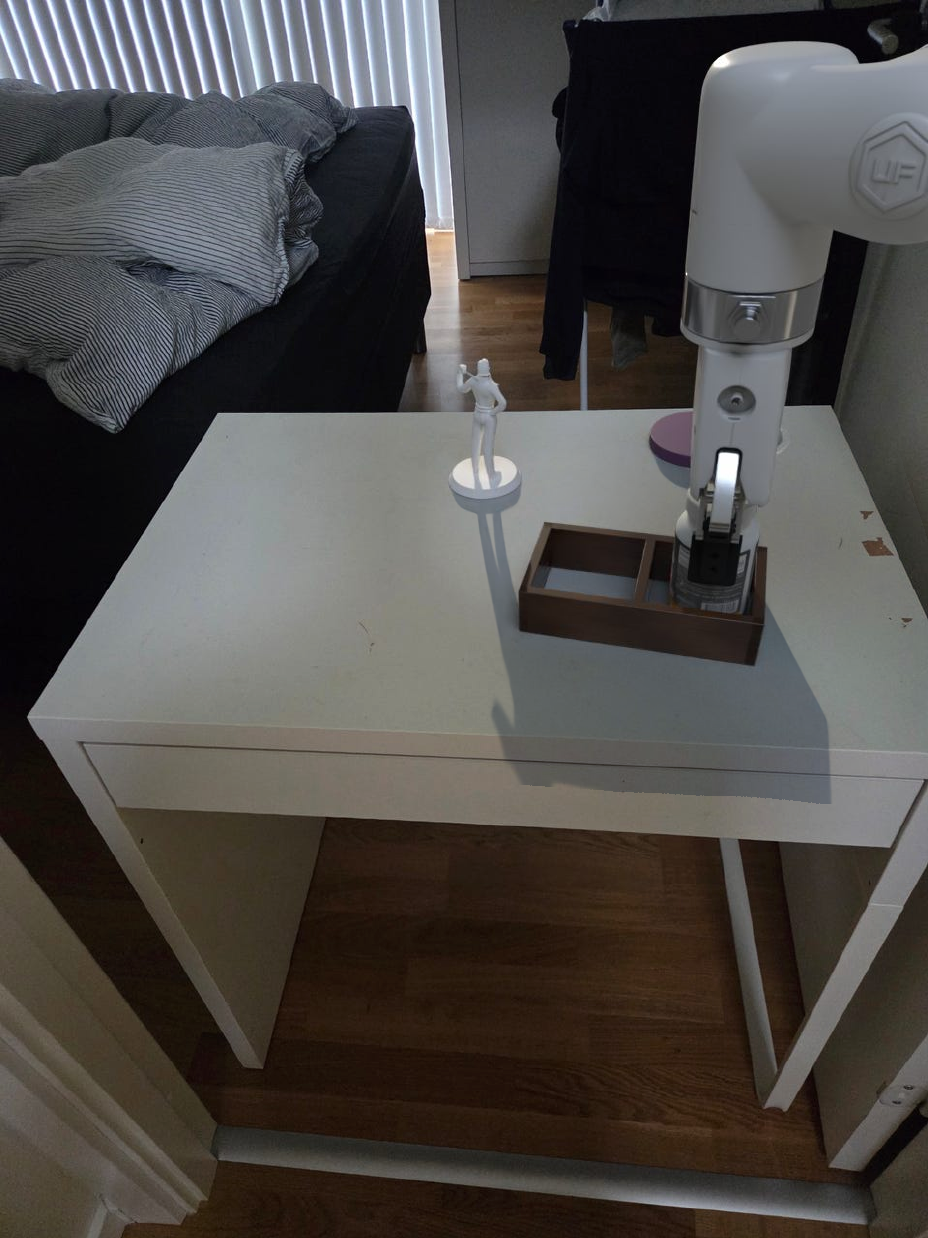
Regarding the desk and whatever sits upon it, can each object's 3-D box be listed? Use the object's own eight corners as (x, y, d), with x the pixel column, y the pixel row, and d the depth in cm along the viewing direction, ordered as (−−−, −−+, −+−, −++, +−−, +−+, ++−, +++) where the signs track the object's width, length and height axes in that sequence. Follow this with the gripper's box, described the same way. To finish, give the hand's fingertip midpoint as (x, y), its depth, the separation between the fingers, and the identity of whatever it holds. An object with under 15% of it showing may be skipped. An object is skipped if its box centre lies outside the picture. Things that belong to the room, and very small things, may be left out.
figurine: (536, 473, 81) (536, 355, 73) (489, 507, 78) (483, 386, 70) (480, 451, 85) (474, 336, 77) (433, 482, 81) (421, 365, 73)
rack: (758, 587, 67) (767, 546, 64) (754, 666, 60) (764, 624, 58) (544, 560, 71) (544, 521, 69) (519, 631, 65) (518, 591, 62)
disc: (744, 425, 86) (746, 414, 85) (740, 472, 79) (741, 460, 79) (654, 418, 88) (655, 407, 87) (643, 462, 82) (644, 452, 81)
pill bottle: (687, 573, 66) (700, 463, 60) (758, 596, 64) (779, 484, 57) (654, 614, 63) (664, 502, 57) (728, 640, 60) (747, 525, 54)
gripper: (822, 370, 41) (766, 640, 53) (815, 253, 54) (771, 494, 65) (666, 363, 43) (645, 626, 55) (694, 252, 56) (672, 486, 67)
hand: (714, 552), depth 60 cm, fingers closed on pill bottle, 5 cm apart
